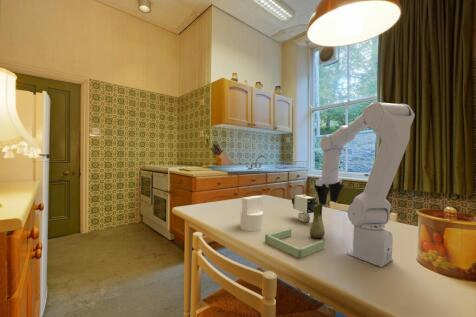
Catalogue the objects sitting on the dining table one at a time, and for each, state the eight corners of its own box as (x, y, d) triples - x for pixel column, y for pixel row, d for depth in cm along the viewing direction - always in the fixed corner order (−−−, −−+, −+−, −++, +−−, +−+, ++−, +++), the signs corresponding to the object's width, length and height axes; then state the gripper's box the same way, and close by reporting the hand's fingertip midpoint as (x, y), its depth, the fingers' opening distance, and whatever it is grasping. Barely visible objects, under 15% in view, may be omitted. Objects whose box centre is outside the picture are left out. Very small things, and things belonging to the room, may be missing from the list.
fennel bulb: (319, 234, 82) (320, 202, 82) (328, 239, 78) (329, 205, 78) (306, 235, 80) (307, 202, 80) (315, 240, 76) (316, 206, 76)
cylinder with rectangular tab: (251, 232, 82) (252, 200, 82) (235, 226, 89) (236, 196, 88) (267, 228, 88) (268, 197, 88) (251, 222, 95) (252, 194, 94)
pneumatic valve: (310, 225, 93) (311, 196, 92) (290, 218, 103) (291, 192, 103) (319, 223, 95) (320, 195, 95) (299, 216, 105) (300, 191, 105)
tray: (323, 248, 69) (324, 241, 69) (299, 258, 62) (300, 250, 62) (289, 234, 81) (289, 228, 81) (265, 242, 73) (265, 234, 73)
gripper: (330, 166, 91) (328, 198, 92) (309, 167, 82) (307, 203, 83) (347, 167, 86) (345, 202, 86) (327, 169, 77) (324, 207, 78)
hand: (328, 203), depth 84 cm, fingers open, 7 cm apart
